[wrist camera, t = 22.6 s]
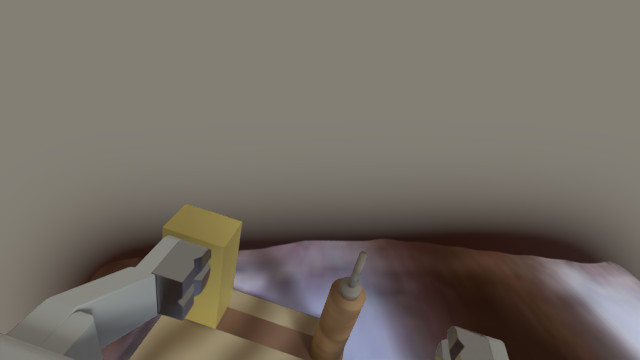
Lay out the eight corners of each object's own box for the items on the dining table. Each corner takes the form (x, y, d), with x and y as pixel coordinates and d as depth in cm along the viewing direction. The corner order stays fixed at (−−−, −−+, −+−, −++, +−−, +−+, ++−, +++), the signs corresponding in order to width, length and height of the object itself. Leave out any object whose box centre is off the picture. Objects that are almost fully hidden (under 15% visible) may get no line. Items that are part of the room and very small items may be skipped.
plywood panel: (344, 334, 42) (347, 327, 41) (321, 473, 30) (324, 467, 29) (190, 281, 43) (190, 275, 42) (109, 395, 31) (107, 388, 30)
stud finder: (215, 328, 37) (224, 247, 31) (163, 311, 38) (162, 227, 31) (231, 299, 41) (242, 220, 34) (184, 283, 41) (186, 202, 35)
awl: (338, 340, 40) (379, 244, 32) (340, 369, 37) (385, 271, 29) (309, 336, 39) (343, 238, 31) (308, 366, 36) (346, 265, 29)
